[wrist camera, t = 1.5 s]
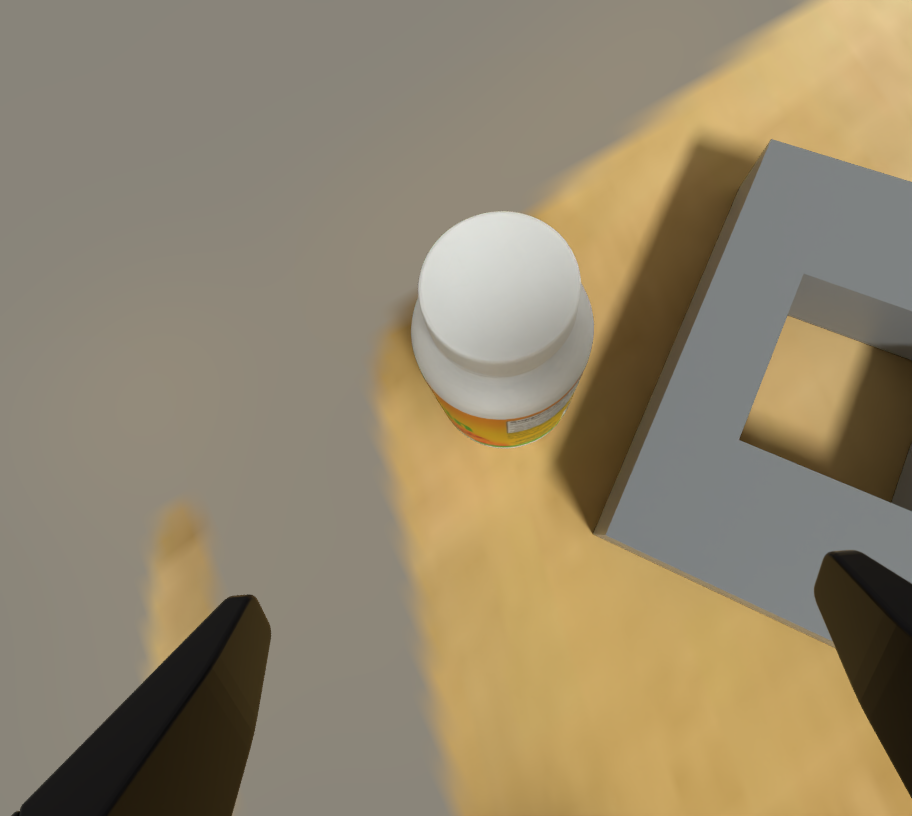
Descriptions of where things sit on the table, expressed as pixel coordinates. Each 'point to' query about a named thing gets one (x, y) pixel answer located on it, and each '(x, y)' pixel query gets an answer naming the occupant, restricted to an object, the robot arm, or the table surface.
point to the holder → (739, 377)
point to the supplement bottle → (502, 327)
